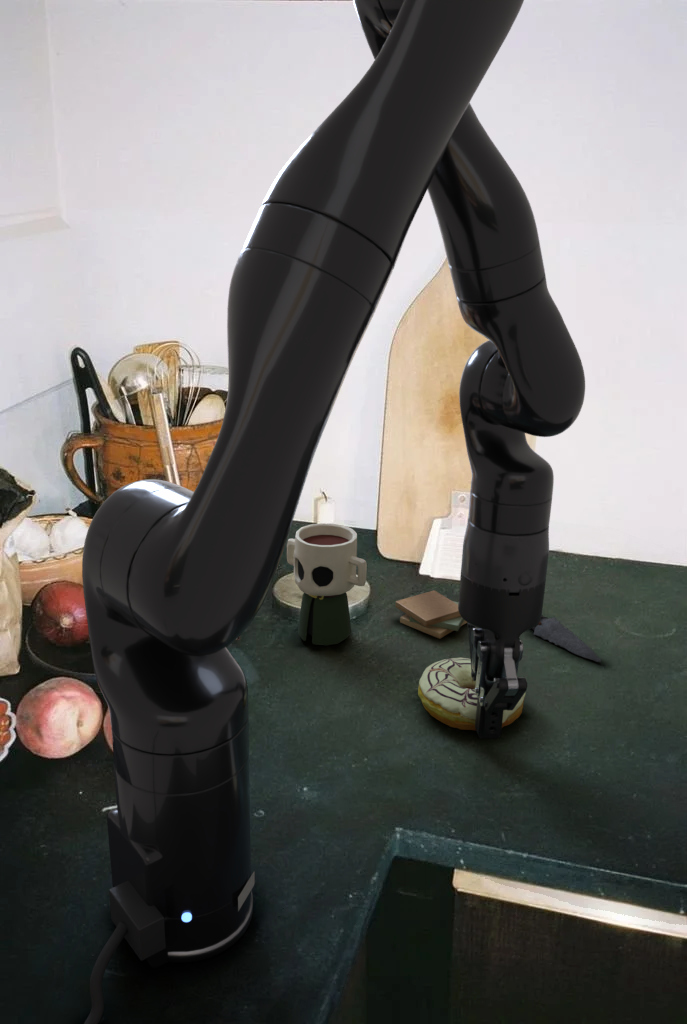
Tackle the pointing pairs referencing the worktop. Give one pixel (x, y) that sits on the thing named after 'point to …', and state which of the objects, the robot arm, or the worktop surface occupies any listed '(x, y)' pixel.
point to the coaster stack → (431, 614)
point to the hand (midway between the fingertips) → (487, 734)
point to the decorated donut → (455, 694)
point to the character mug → (325, 579)
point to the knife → (563, 637)
